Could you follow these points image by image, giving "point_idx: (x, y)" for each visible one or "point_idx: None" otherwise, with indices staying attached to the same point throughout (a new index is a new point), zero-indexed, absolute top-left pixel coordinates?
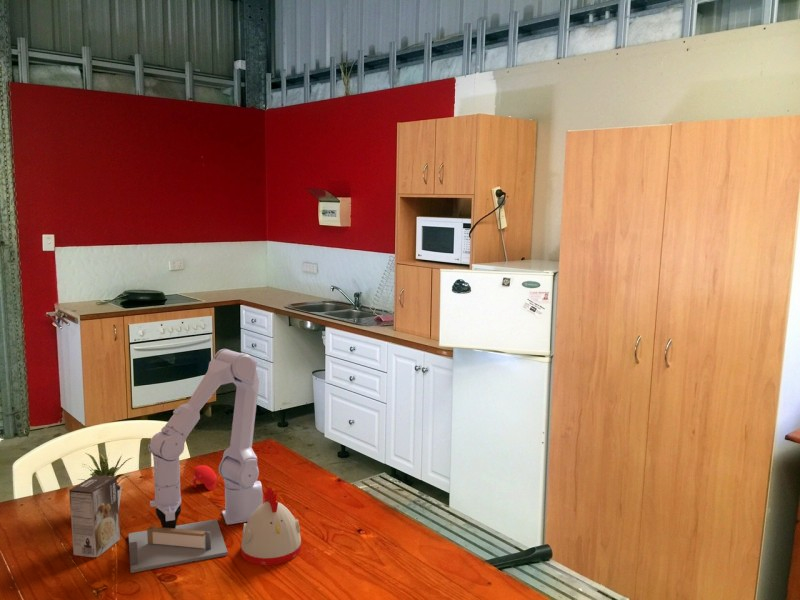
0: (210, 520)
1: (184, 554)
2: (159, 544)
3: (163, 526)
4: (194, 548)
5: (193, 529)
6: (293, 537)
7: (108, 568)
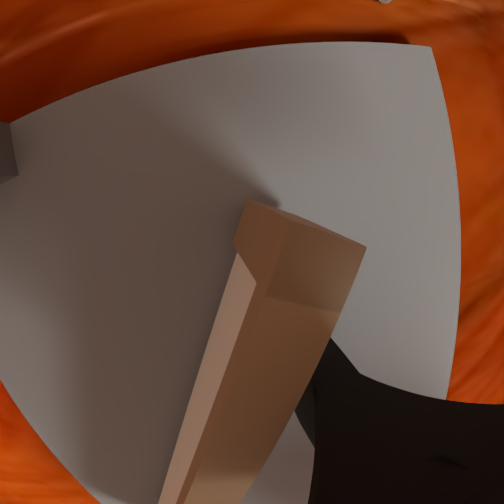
0: None
1: (99, 449)
2: None
3: (317, 405)
4: None
5: None
6: None
7: (9, 17)
